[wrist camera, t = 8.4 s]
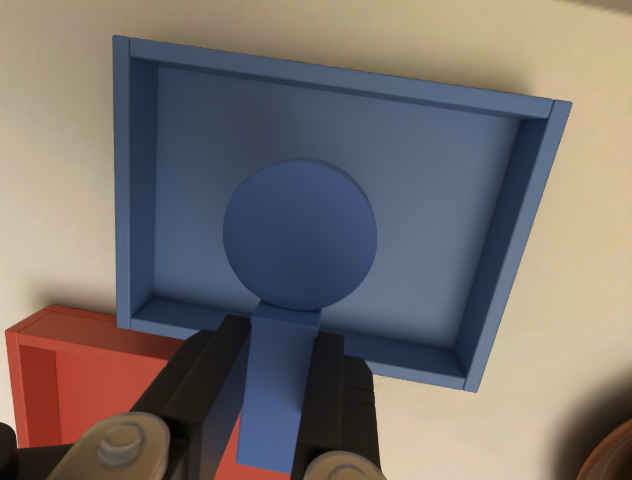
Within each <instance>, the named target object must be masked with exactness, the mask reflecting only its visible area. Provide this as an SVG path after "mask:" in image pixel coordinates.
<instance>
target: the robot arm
mask: <svg viewBox="0 0 632 480" xmlns="http://www.w3.org/2000/svg"><path fill="white" fill-rule="evenodd" d="M250 319H251V317H248V316H243V315H237V314H232V313H228V314H227V316H226V317H225V318H224V320H223V321H222V323H221V324H220V326H219V327H218V329H217V330H216V331H213V330H207V329H202V330H200V331H199V332H197V333H195V334H194V335H192V336H190V337H188V338H187V339H186V340H185V341H184V342H183V343H182V345H181V346H180V347H179V349H178V350H177V351H176V353H175V355H173V356H172V357H171V359H170V360H169V361H168V362H167V364H166V367H163V369H162V370H161V371H160V373H159V374H158V375H157V376H156V378H155V379H154V380H153V381H152V383H151V384H150V385H149V386H148V388H147V389H146V390H145V391H144V393H143V394H142V395H141V397H140V398H139V399H138V400H137V402H136V403H135V404H134V405H133V407H132V408H131V409H130V410H129V412H125V413H120V414H116V415H113V416H110V417H108V418H105V419H103V420H101V421H99V422H98V423H96V424H95V425H93V426H92V427H90V428H89V429H88V430H87V431H85V432H84V433H83V434H82V435H81V437H80V438H79V439H78V440H77V441H76V442H75V443H71V444H64V445H53V446H42V447H30V448H19V449H18V448H17V440H16V434H15V432H14V430H13V429H12V428H11V427H10V426H8V425H7V424H5V423H2V422H0V480H214V477H215V475H216V472H217V470H218V467H219V465H220V462H221V459H222V457H223V454H224V452H225V449H226V447H227V444H228V442H229V439H230V437H231V434H232V432H233V429H234V426H235V424H236V421H237V419H238V416H239V414H240V411H241V409H242V406H243V403H244V394H245V385H246V375H247V366H248V357H249V348H250V338H251V329H252V325H250ZM344 339H345V334H343V333H338V332H332V331H326V330H321V329H319V332H318V336H317V337H315V340H314V345H313V351H312V356H311V362H310V368H309V373H308V379H307V385H306V390H305V396H304V401H303V407H302V413H301V418H300V424H299V430H298V435H297V441H296V447H295V453H294V459H293V465H292V471H291V477H290V480H387V479H386V477H385V476H384V475H383V473H382V470H381V465H380V456H379V444H378V432H377V421H376V409H375V397H374V392H373V391H374V385H373V374H372V371H371V370H370V368H369V367H368V365H367V364H366V362H365V360H364V359H363V358H362V357H356V356H350V355H345V354H344Z"/></svg>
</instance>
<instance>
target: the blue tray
mask: <svg viewBox="0 0 632 480" xmlns="http://www.w3.org/2000/svg"><path fill="white" fill-rule="evenodd" d="M112 41H113V107H114V173H115V240H116V306H117V327H118V328H123V329H131V330H134V331H139V332H145V333H150V334H156V335H161V336H167V337H172V338H178V339H183V340H186V339H187V338H188V337H190V336H192V335H194V334H195V333H197V332H199V331H200V330H202V329H207V330H213V331H216V330H217V329H218V327H219V326H220V324H221V323H222V321H223V320H224V318H225V317H226V316H227V314H228V313H232V314H237V315H243V316H248V317H251V316H252V314H253V313H254V311H255V309H256V307H257V305H258V303H259V302H260V300H261V299H260V298H259V297H257V296H256V295H254V294H253V293H252V292H251V291H250V290H248V289H247V288H246V287H245V286H244V285H243V284H242V282H241V281H240V280H239V279H238V277H237V276H236V275H235V273H234V271H233V270H232V268H231V266H230V264H229V261H228V259H227V256H226V253H225V249H224V244H223V221H224V215H225V212H226V208H227V206H228V204H229V201H230V199H231V197H232V196H233V194H234V193H235V191H236V190H237V188H238V187H239V186H240V185H241V184H242V182H244V181H245V180H246V179H247V178H248V177H249V176H250V175H252V174H253V173H255V172H256V171H258V170H259V169H261V168H263V167H266V166H268V165H270V164H273V163H275V162H278V161H281V160H284V159H290V158H299V157H306V158H315V159H320V160H324V161H326V162H329V163H332V164H334V165H336V166H338V167H339V168H341V169H343V170H344V171H345V172H347V173H348V174H349V175H350V176H352V177H353V178H354V179H355V180H356V181H357V182H358V184H359V185H360V186H361V187H362V189H363V190H364V192H365V194H366V195H367V197H368V199H369V202H370V204H371V207H372V210H373V214H374V217H375V221H376V226H377V250H376V255H375V258H374V262H373V264H372V267H371V269H370V271H369V273H368V274H367V276H366V278H365V279H364V281H363V282H362V283H361V284H360V285H359V287H358V288H357V289H356V290H354V291H353V292H352V293H351V294H350V295H348V296H347V297H346V298H344V299H343V300H341V301H339V302H337V303H335V304H333V305H330V306H327V307H324V308H322V314H321V320H320V326H319V329H321V330H326V331H332V332H338V333H343V334H345V339H344V354H345V355H350V356H356V357H362V358H363V359H364V360H365V362H366V364H367V365H368V367H369V368H370V370H371V371H372V374H375V375H381V376H386V377H392V378H397V379H403V380H408V381H414V382H419V383H425V384H430V385H436V386H441V387H447V388H452V389H458V390H462V389H463V390H464V391H469V392H474V393H477V391H478V388H479V385H480V382H481V379H482V376H483V373H484V370H485V367H486V364H487V361H488V358H489V355H490V352H491V349H492V346H493V343H494V340H495V337H496V334H497V331H498V328H499V325H500V322H501V319H502V316H503V313H504V310H505V307H506V304H507V301H508V298H509V294H510V291H511V288H512V285H513V282H514V279H515V276H516V273H517V270H518V267H519V264H520V261H521V258H522V255H523V252H524V249H525V246H526V243H527V240H528V237H529V234H530V231H531V228H532V225H533V222H534V219H535V216H536V213H537V210H538V207H539V204H540V201H541V198H542V195H543V192H544V189H545V186H546V183H547V180H548V177H549V174H550V171H551V168H552V165H553V162H554V159H555V156H556V153H557V150H558V147H559V144H560V141H561V138H562V135H563V132H564V128H565V125H566V122H567V119H568V116H569V113H570V110H571V107H572V104H573V103H572V102H570V101H563V100H553V99H549V98H542V97H536V96H529V95H522V94H515V93H508V92H501V91H495V90H488V89H481V88H474V87H467V86H460V85H454V84H447V83H440V82H433V81H426V80H419V79H412V78H406V77H399V76H392V75H385V74H378V73H371V72H365V71H358V70H351V69H344V68H337V67H330V66H324V65H317V64H310V63H303V62H296V61H289V60H283V59H276V58H269V57H262V56H255V55H248V54H241V53H235V52H228V51H221V50H214V49H207V48H200V47H194V46H187V45H180V44H173V43H166V42H159V41H153V40H146V39H139V38H129V37H125V36H118V35H113V37H112Z"/></svg>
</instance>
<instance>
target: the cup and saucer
mask: <svg viewBox="0 0 632 480" xmlns="http://www.w3.org/2000/svg"><path fill="white" fill-rule="evenodd" d="M576 480H632V418H631V419H629V420H628V421H626V422H624V423H623V424H621V425H620V426H619V427H617V428H616V429H615V430H613V431H612V432H611V433H610V434H609V435H607V436H606V437H605V438H604V439H603V440H602V441H601V442H600V443H599V444H598V445H597V446H596V448H595V449H594V450H593V451H592V453H591V454H590V455H589V457H588V458H587V460H586V461H585V463H584V464H583V467H582V469H581V470H580V472H579V474H578V477H577V479H576Z"/></svg>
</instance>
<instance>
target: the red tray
mask: <svg viewBox="0 0 632 480" xmlns="http://www.w3.org/2000/svg"><path fill="white" fill-rule="evenodd" d="M5 337H6V345H7V354H8V362H9V371H10V380H11V388H12V397H13V405H14V414H15V422H16V431H17V439H18V448H30V447H42V446H53V445H64V444H71V443H75V442H76V441H77V440H78V439H79V438H80V437H81V435H82V434H83V433H84V432H85V431H87V430H88V429H89V428H90V427H92V426H93V425H95V424H96V423H98V422H99V421H101V420H103V419H105V418H108V417H110V416H113V415H116V414H120V413H125V412H129V410H130V409H131V408H132V407H133V405H134V404H135V403H136V402H137V400H138V399H139V398H140V397H141V395H142V394H143V393H144V391H145V390H146V389H147V388H148V386H149V385H150V384H151V383H152V381H153V380H154V379H155V378H156V376H157V375H158V374H159V373H160V371H161V370H162V369H163V367H166V364H167V362H168V361H169V360H170V359H171V357H172V356H173V355H175V353H176V351H177V350H178V349H179V347H180V346H181V345H182V343H183V342H184V341H185V340H183V339H178V338H172V337H167V336H161V335H156V334H150V333H145V332H139V331H134V330H131V329H123V328H118V327H117V316H112V315H106V314H101V313H95V312H90V311H84V310H79V309H73V308H68V307H62V306H57V305H48V306H46V307H45V308H43V309H42V310H39V311H38V312H36V313H34V314H32V315H31V316H29V317H27V318H26V319H24V320H22V321H20V322H19V323H17V324H15V325H13V326H12V327H10V328H8V329H7V330H5ZM240 415H241V411H240V414H239V416H238V419H237V421H236V424H235V426H234V429H233V432H232V434H231V437H230V439H229V442H228V444H227V447H226V449H225V452H224V454H223V457H222V459H221V462H220V465H219V467H218V470H217V472H216V475H215V477H214V480H290V477H291V474H286V473H281V472H276V471H271V470H266V469H261V468H256V467H250V466H245V465H240V464H237V463H236V453H237V443H238V434H239V424H240Z"/></svg>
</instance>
